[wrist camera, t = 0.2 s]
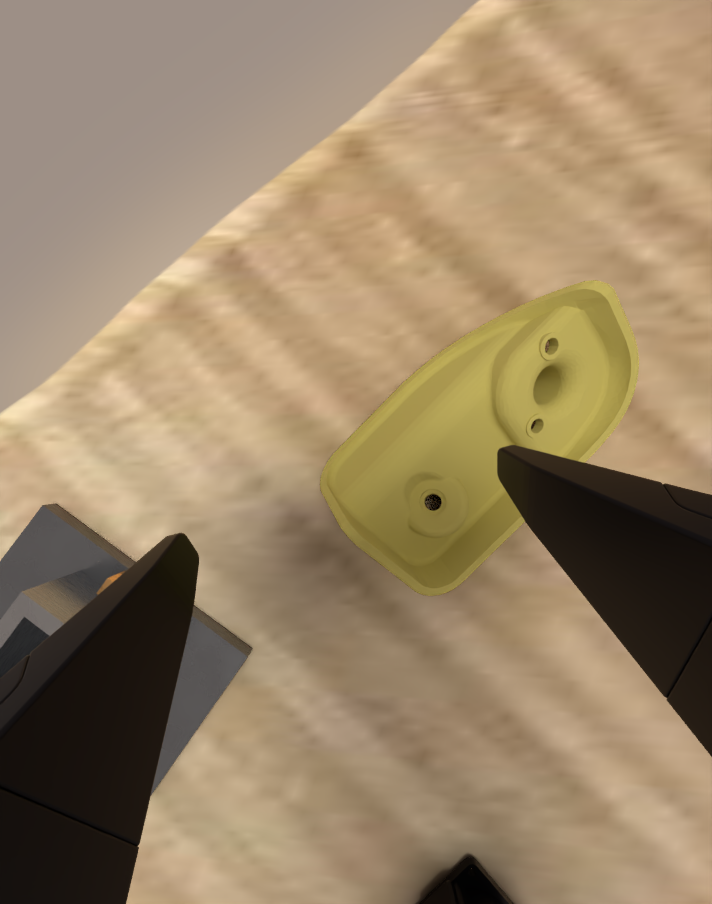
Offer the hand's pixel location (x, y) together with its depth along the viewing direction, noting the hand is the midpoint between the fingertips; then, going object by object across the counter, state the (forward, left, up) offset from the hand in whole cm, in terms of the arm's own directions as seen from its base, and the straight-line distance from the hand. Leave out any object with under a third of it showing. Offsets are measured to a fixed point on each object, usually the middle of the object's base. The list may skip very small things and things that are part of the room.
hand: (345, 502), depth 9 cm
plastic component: (-4, -8, -15) cm, 18 cm away
